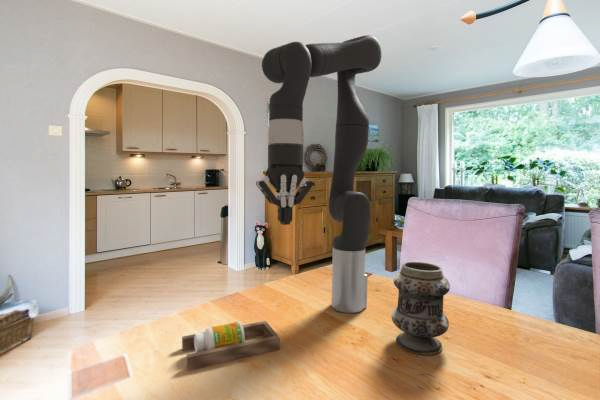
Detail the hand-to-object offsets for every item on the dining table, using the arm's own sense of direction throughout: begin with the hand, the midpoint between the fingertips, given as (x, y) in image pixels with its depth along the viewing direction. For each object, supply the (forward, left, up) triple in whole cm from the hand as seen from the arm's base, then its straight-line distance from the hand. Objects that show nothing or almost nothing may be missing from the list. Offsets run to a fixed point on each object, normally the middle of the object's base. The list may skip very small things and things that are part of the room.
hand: (284, 224), depth 71 cm
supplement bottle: (+8, -3, -24) cm, 26 cm away
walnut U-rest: (+11, -3, -27) cm, 29 cm away
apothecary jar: (-28, +12, -27) cm, 41 cm away
